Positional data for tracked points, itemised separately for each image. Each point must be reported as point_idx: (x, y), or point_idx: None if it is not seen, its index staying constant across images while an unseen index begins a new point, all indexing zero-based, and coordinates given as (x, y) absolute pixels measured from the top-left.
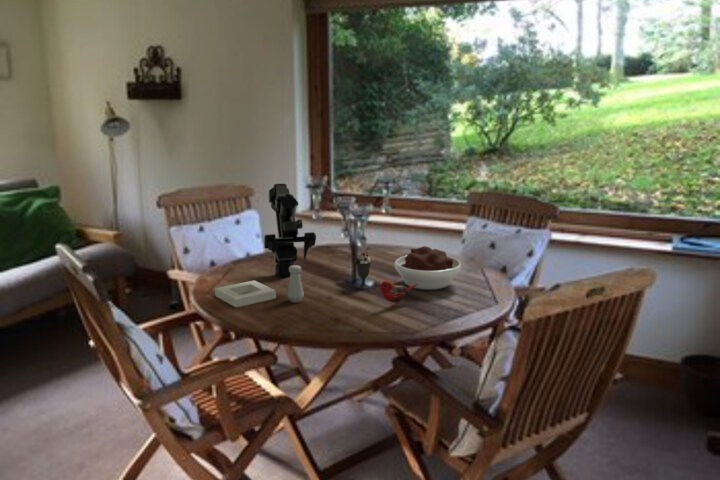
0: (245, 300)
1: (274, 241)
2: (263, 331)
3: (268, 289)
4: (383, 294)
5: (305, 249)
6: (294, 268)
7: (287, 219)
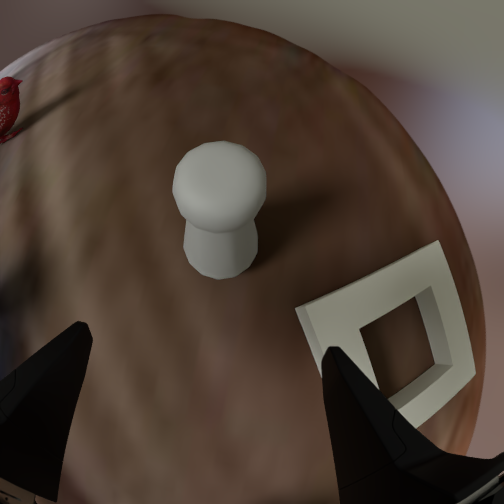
0: (408, 255)
1: (473, 478)
2: (340, 76)
3: (334, 329)
4: (18, 101)
5: (26, 377)
6: (233, 144)
7: None
